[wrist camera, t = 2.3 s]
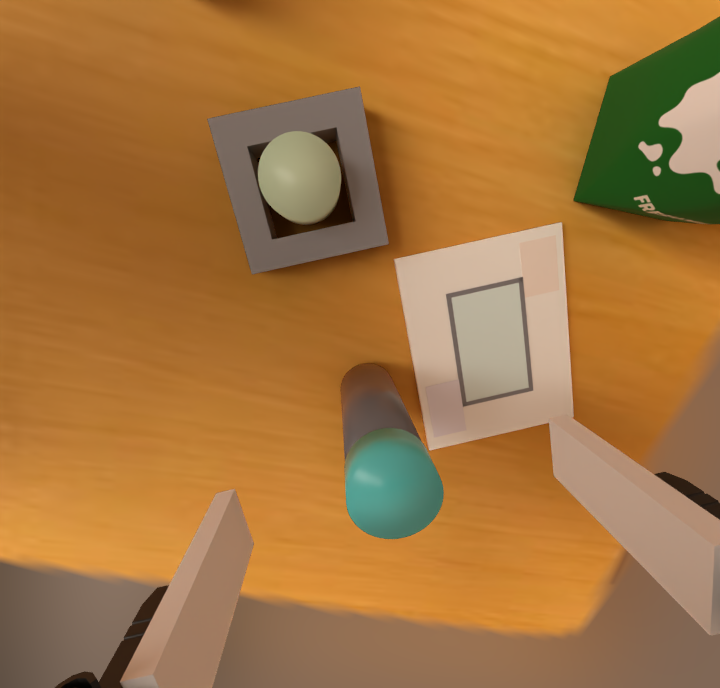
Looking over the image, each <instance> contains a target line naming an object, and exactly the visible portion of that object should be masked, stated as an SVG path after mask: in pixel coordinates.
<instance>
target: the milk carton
mask: <svg viewBox="0 0 720 688" xmlns="http://www.w3.org/2000/svg"><path fill="white" fill-rule="evenodd" d="M574 201H577V202H581V203H586V204H591V205H595V206H600V207H605V208H609V209H614V210H619V211H623V212H628V213H633V214H637V215H642V216H647V217H651V218H656V219H661V220H665V221H674V222H686V223H698V224H720V17H718V18H716V19H715V20H713V21H711V22H710V23H708V24H706V25H705V26H703V27H701V28H700V29H698V30H696V31H694V32H692V33H690V34H689V35H687V36H685V37H683V38H681V39H679V40H677V41H676V42H674V43H672V44H670V45H668V46H666V47H664V48H662V49H661V50H659V51H657V52H655V53H653V54H651V55H649V56H648V57H646V58H644V59H642V60H640V61H638V62H636V63H635V64H633V65H631V66H629V67H627V68H625V69H623V70H622V71H620V72H618V73H616V74H614V75H612V76H610V79H609V82H608V85H607V89H606V92H605V95H604V99H603V102H602V106H601V109H600V112H599V116H598V119H597V123H596V126H595V129H594V133H593V136H592V139H591V143H590V146H589V150H588V153H587V156H586V160H585V163H584V167H583V170H582V173H581V177H580V180H579V183H578V187H577V190H576V194H575V197H574Z"/></svg>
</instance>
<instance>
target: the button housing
mask: <svg viewBox="0 0 720 688" xmlns="http://www.w3.org/2000/svg"><path fill="white" fill-rule="evenodd" d="M207 120H208V123H209V127H210V130H211V134H212V137H213V141H214V144H215V148H216V151H217V155H218V158H219V161H220V165H221V168H222V172H223V175H224V179H225V182H226V186H227V189H228V193H229V196H230V200H231V203H232V207H233V210H234V214H235V217H236V221H237V224H238V228H239V231H240V235H241V238H242V242H243V245H244V248H245V252H246V255H247V259H248V262H249V266H250V269H251V273H252V274H256V273H261V272H265V271H270V270H274V269H279V268H283V267H288V266H292V265H297V264H301V263H306V262H310V261H315V260H319V259H324V258H329V257H333V256H338V255H342V254H347V253H351V252H356V251H360V250H365V249H369V248H374V247H378V246H383V245H387V244H389V242H388V236H387V231H386V225H385V220H384V215H383V209H382V204H381V198H380V193H379V187H378V182H377V177H376V171H375V166H374V160H373V155H372V149H371V144H370V139H369V133H368V128H367V122H366V117H365V112H364V106H363V101H362V95H361V90H360V87H355V88H351V89H346V90H341V91H336V92H332V93H327V94H322V95H318V96H313V97H308V98H303V99H299V100H294V101H289V102H284V103H280V104H275V105H270V106H265V107H261V108H256V109H251V110H247V111H242V112H237V113H232V114H228V115H223V116H218V117H213V118H209V119H207ZM292 131H302V132H307V133H311V134H313V135H315V136H317V137H319V138H320V139H322V140H323V141H324V142H325V143H329V142H334V141H336V143H337V148H338V153H339V157H340V162H341V167H342V172H343V177H344V182H345V187H346V191H347V196H348V201H349V206H350V211H351V216H352V220H353V222H350V223H346V224H341V225H337V226H332V227H328V228H323V229H318V230H314V231H309V232H305V233H300V234H296V235H291V236H286V237H282V238H277V235H276V231H275V227H274V223H273V219H272V216H271V212H270V208H269V204H268V202H267V201H266V199H265V198H264V196H263V194H262V192H261V189H260V186H259V181H258V162H257V158H259V157H261V155H262V153H263V151H264V150H265V148H266V147H267V145H268V144H269V143H270V142H271V141H272V140H273V139H275V138H276V137H278V136H279V135H282V134H284V133H287V132H292Z"/></svg>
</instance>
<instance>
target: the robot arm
mask: <svg viewBox="0 0 720 688" xmlns="http://www.w3.org/2000/svg"><path fill="white" fill-rule="evenodd" d="M549 428H550V439H551V451H552V462H553V474H554V477H555V478H556V479H557V480H558V481H559V482H560V483H561V484H562V485H563V486H564V487H565V488H566V489H567V490H568V491H569V492H570V493H571V494H572V495H573V496H574V497H575V498H576V499H577V500H578V501H579V502H580V503H581V504H582V505H583V506H584V507H585V508H586V509H587V510H588V511H589V512H590V513H591V514H592V515H593V516H594V517H595V519H596V520H597V521H598V522H599V523H600V524H601V525H602V526H603V527H604V528H605V529H606V530H607V531H608V532H609V533H610V534H611V535H612V536H613V537H614V538H615V539H616V540H617V541H618V542H619V543H620V544H621V545H622V546H623V547H624V548H625V549H626V550H627V551H628V552H629V553H630V554H631V555H632V556H633V557H634V558H635V559H636V560H637V561H638V562H639V563H640V564H641V565H642V566H643V567H644V568H645V569H646V571H648V573H649V574H651V576H652V577H653V578H654V579H655V580H656V581H657V582H658V583H659V584H660V585H661V586H662V587H663V588H664V589H665V590H666V591H667V592H668V593H669V594H670V595H671V596H672V597H673V598H674V599H675V600H676V601H677V602H678V603H679V604H680V605H681V606H682V607H683V608H684V609H685V610H686V611H687V612H688V613H689V614H690V615H691V616H692V617H693V618H694V619H695V620H696V621H697V622H698V624H700V626H701V627H702V628H703V629H705V631H706V632H707V633H708V634H709V635H710V636H711V635H715V634H720V503H719V502H718V500H716V499H714V498H713V497H711V496H710V495H708V494H705V493H704V492H703V491H702V490H700V489H699V488H697V487H696V486H694V485H693V484H691V483H690V482H688V481H686V480H684V479H682V478H679V477H676V476H674V475H672V474H669V473H666V472H662V473H657V474H653V473H651V472H650V471H648V470H647V469H645V468H644V467H642V466H641V465H640V464H638V463H637V462H635V461H634V460H632V459H631V458H629V457H628V456H627V455H625V454H624V453H622V452H621V451H619V450H618V449H616V448H615V447H614V446H612V445H611V444H609V443H608V442H606V441H605V440H603V439H602V438H601V437H599V436H598V435H596V434H595V433H593V432H592V431H590V430H589V429H588V428H586V427H585V426H583V425H582V424H580V423H579V422H577V421H576V420H574V419H573V418H572V417H570V416H569V415H567V414H566V415H561V416H557V417H552V418H549ZM253 545H254V542H253V540H252V537H251V534H250V531H249V528H248V525H247V522H246V520H245V517H244V514H243V511H242V508H241V505H240V502H239V499H238V497H237V494H236V491H235V489H232V490H228V491H223V492H219V493H216V495H215V497H214V499H213V501H212V503H211V505H210V506H209V508H208V510H207V512H206V514H205V516H204V518H203V520H202V522H201V524H200V526H199V528H198V530H197V532H196V534H195V536H194V538H193V540H192V542H191V544H190V546H189V548H188V550H187V551H186V553H185V555H184V557H183V559H182V561H181V563H180V565H179V567H178V569H177V571H176V573H175V575H174V577H173V579H172V581H171V583H170V585H168V586H163V587H159V588H157V589H156V590H155V591H154V592H153V593H152V594H151V595H150V597H149V598H148V599H147V600H146V601H145V602H144V603H143V604H142V606H141V608H140V610H139V612H138V613H137V615H136V617H135V619H134V621H133V622H132V626H130V627H129V629H128V631H127V633H126V635H125V636H124V641H122V642H121V643H120V645H119V647H118V649H117V651H116V653H115V654H114V656H113V658H112V660H111V661H110V663H109V665H108V667H107V669H106V670H105V672H104V674H103V676H102V677H101V679H100V681H99V682H98V680H97V679H96V677H95V676H94V674H93V673H91V672H82V673H79V674H76V675H73V676H71V677H69V678H68V679H66V680H65V681H63V682H61V683H60V684H58V685H57V686H56V687H55V688H212V686H213V683H214V679H215V676H216V672H217V669H218V665H219V662H220V658H221V655H222V652H223V648H224V645H225V641H226V638H227V635H228V631H229V628H230V624H231V621H232V617H233V614H234V610H235V607H236V604H237V600H238V597H239V593H240V590H241V586H242V583H243V580H244V576H245V573H246V569H247V566H248V562H249V559H250V556H251V552H252V549H253Z"/></svg>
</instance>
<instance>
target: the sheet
mask: <svg viewBox="0 0 720 688" xmlns="http://www.w3.org/2000/svg"><path fill="white" fill-rule="evenodd" d="M394 264H395V269H396V274H397V280H398V285H399V291H400V296H401V302H402V307H403V313H404V318H405V324H406V329H407V335H408V340H409V345H410V351H411V356H412V362H413V367H414V373H415V378H416V384H417V389H418V395H419V400H420V406H421V411H422V417H423V422H424V427H425V433H426V438H427V444H428V448H429V450H435V449H439V448H443V447H447V446H452V445H456V444H460V443H465V442H469V441H473V440H478V439H482V438H486V437H490V436H495V435H499V434H503V433H508V432H512V431H516V430H520V429H525V428H529V427H533V426H538V425H542V424H546V423H549V418H552V417H557V416H561V415H566V414H567V415H569V416H570V417H574V412H573V395H572V379H571V363H570V346H569V330H568V314H567V297H566V281H565V265H564V248H563V232H562V222H560V223H555V224H550V225H546V226H541V227H537V228H532V229H528V230H523V231H519V232H514V233H509V234H505V235H500V236H496V237H491V238H487V239H482V240H478V241H473V242H469V243H464V244H460V245H455V246H451V247H446V248H442V249H437V250H433V251H428V252H424V253H419V254H415V255H410V256H406V257H401V258H397V259H394Z"/></svg>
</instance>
